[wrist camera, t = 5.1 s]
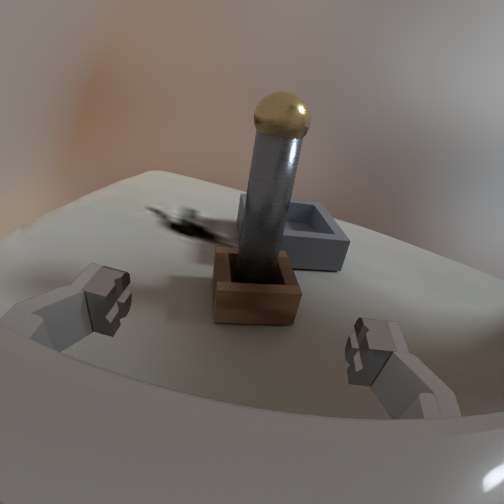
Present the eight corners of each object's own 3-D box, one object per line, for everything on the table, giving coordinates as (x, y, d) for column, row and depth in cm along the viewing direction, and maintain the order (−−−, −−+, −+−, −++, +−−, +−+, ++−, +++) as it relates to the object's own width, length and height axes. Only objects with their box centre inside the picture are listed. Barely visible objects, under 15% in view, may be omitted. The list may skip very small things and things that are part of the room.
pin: (268, 286, 28) (306, 95, 20) (275, 314, 24) (323, 99, 16) (227, 284, 27) (255, 87, 19) (229, 312, 24) (262, 87, 16)
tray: (314, 227, 40) (320, 202, 38) (340, 270, 32) (350, 241, 30) (237, 220, 38) (240, 193, 37) (244, 265, 30) (249, 232, 28)
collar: (278, 279, 29) (285, 251, 27) (292, 324, 24) (302, 294, 22) (212, 275, 28) (215, 246, 26) (214, 322, 23) (217, 290, 21)
